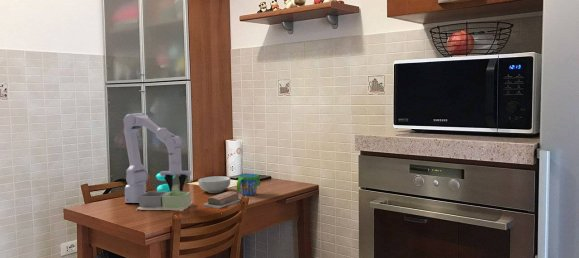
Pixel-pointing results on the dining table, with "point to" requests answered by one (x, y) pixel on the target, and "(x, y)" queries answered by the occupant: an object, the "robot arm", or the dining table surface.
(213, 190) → the cereal bowl
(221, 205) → the packaged product
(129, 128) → the robot arm
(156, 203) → the two-tone hollow container
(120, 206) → the dining table surface
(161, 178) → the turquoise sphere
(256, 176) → the snack cup
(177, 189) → the ball
